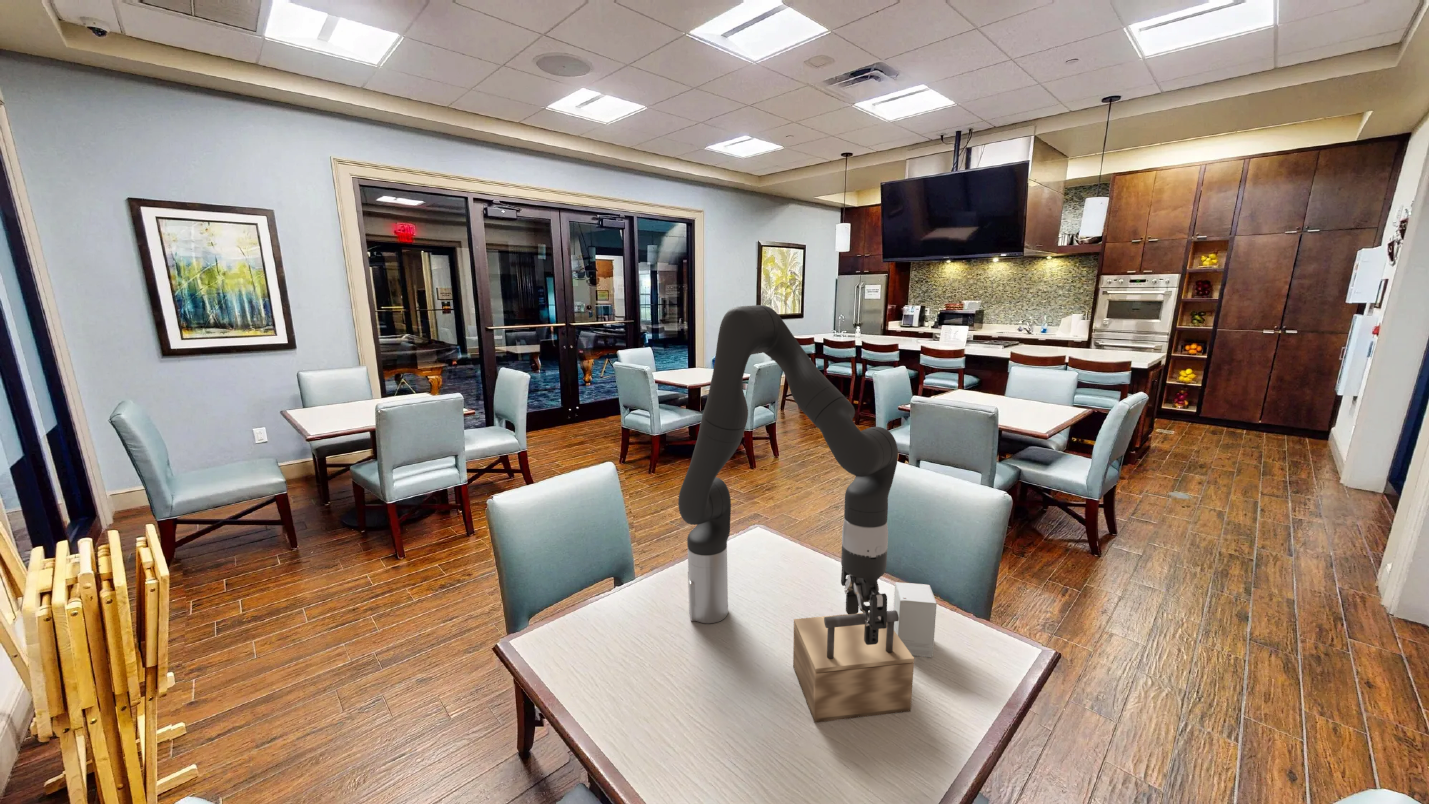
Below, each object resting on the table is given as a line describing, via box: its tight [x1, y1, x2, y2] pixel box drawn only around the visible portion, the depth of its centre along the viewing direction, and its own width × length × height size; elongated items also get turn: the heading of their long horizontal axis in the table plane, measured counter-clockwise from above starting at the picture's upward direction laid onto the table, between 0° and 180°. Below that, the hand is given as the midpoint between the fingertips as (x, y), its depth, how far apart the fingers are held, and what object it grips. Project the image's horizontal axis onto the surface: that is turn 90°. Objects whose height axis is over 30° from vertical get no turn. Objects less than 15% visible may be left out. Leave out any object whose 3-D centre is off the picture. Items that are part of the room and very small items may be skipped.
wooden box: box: [792, 623, 915, 724], centre depth 98 cm, size 18×14×10 cm
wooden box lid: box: [793, 609, 915, 673], centre depth 96 cm, size 18×14×9 cm
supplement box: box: [892, 581, 938, 658], centre depth 110 cm, size 7×7×13 cm
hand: (861, 627), depth 92 cm, fingers open, 8 cm apart
